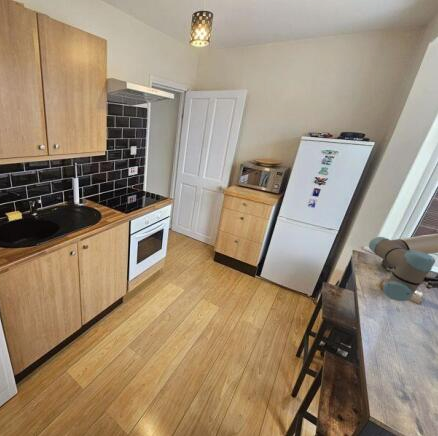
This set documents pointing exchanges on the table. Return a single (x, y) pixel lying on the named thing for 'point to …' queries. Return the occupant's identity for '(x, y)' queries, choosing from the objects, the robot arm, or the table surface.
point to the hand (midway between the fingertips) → (416, 266)
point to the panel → (415, 298)
